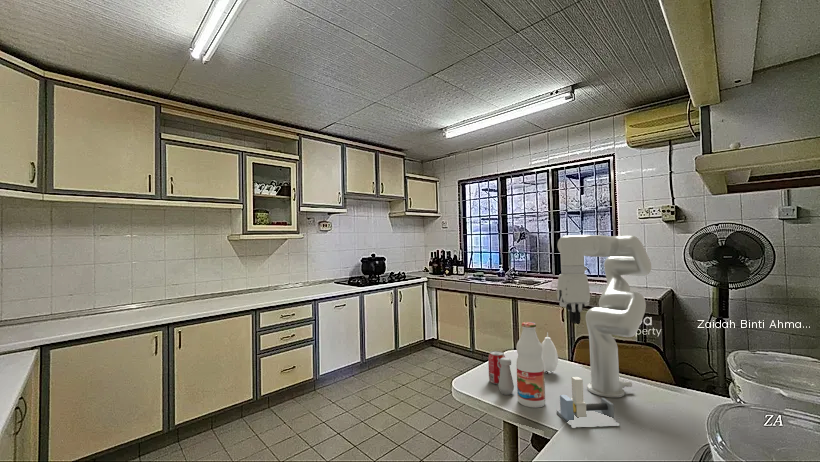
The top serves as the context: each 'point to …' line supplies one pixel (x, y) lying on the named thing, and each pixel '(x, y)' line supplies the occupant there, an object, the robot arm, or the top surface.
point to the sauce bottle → (549, 355)
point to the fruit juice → (530, 368)
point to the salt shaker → (505, 377)
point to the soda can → (495, 366)
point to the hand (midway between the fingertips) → (575, 322)
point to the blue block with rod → (569, 408)
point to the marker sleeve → (578, 397)
